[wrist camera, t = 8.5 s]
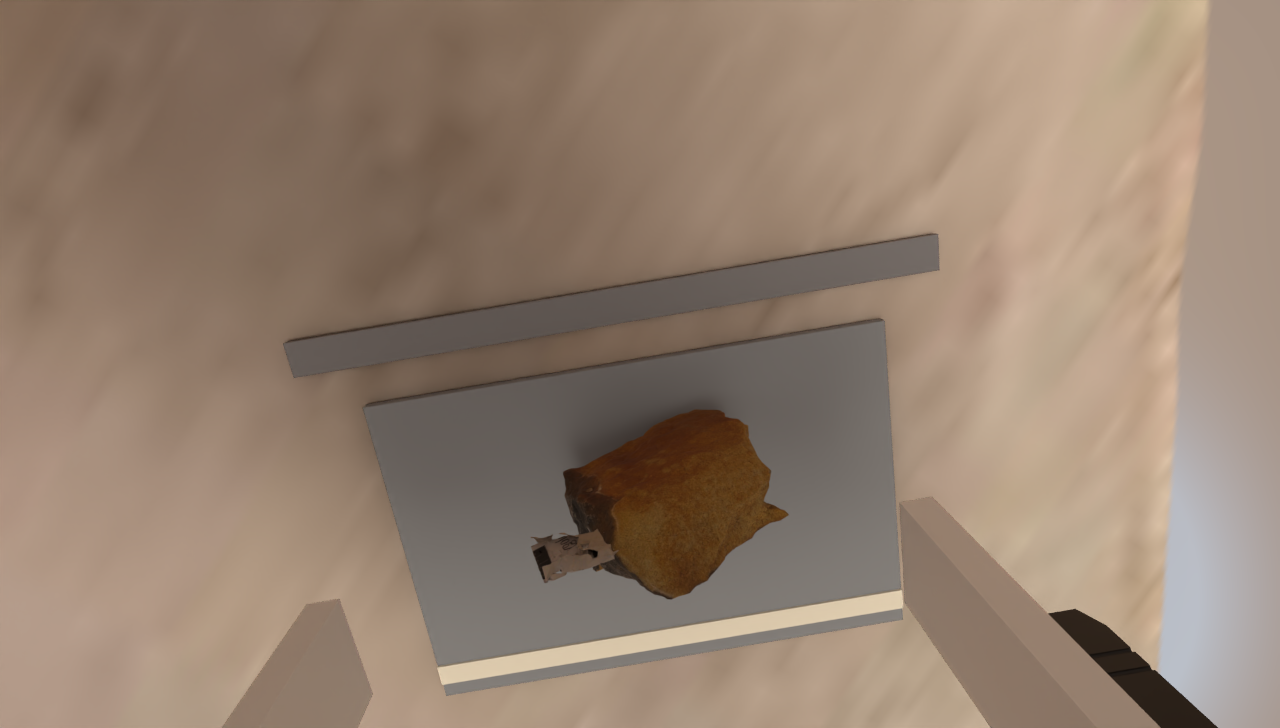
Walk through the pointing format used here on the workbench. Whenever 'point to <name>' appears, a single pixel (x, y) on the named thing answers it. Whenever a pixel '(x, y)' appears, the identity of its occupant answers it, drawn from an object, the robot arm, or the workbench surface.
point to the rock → (664, 505)
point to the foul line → (613, 305)
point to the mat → (603, 421)
